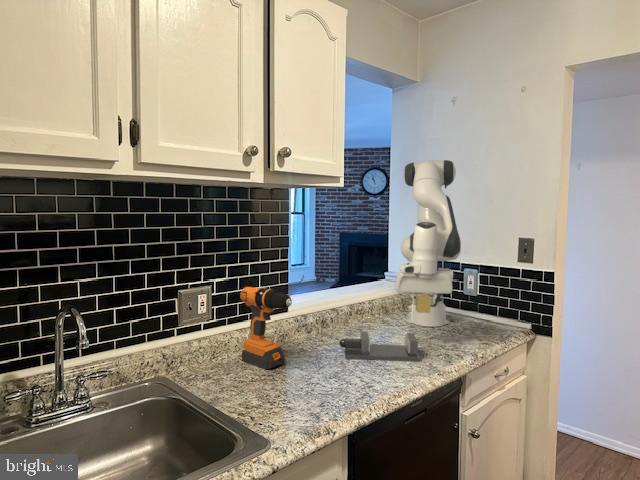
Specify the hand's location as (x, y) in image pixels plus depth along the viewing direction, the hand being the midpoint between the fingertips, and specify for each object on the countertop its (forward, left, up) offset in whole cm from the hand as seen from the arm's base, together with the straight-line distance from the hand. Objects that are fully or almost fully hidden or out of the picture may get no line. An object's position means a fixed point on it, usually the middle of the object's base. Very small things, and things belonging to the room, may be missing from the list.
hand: (422, 304), depth 161 cm
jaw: (+8, -25, -15) cm, 30 cm away
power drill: (+22, -53, -16) cm, 60 cm away
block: (0, 0, -2) cm, 2 cm away
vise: (+8, -16, -16) cm, 24 cm away
